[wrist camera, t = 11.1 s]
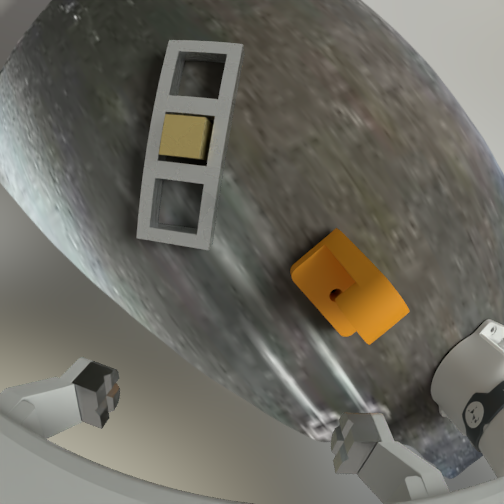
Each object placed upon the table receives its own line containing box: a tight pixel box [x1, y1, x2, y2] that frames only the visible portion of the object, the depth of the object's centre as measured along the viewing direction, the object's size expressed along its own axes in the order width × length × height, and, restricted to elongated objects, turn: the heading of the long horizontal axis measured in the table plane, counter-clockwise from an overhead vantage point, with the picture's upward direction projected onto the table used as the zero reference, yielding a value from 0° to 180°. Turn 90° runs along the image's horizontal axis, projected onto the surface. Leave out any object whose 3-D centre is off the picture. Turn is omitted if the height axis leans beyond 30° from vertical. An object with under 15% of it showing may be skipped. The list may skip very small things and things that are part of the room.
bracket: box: [290, 228, 409, 345], centre depth 30 cm, size 11×7×12 cm, turn 42°
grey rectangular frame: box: [137, 40, 244, 250], centre depth 31 cm, size 8×22×3 cm, turn 171°
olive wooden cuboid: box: [159, 114, 213, 161], centre depth 30 cm, size 4×4×5 cm
